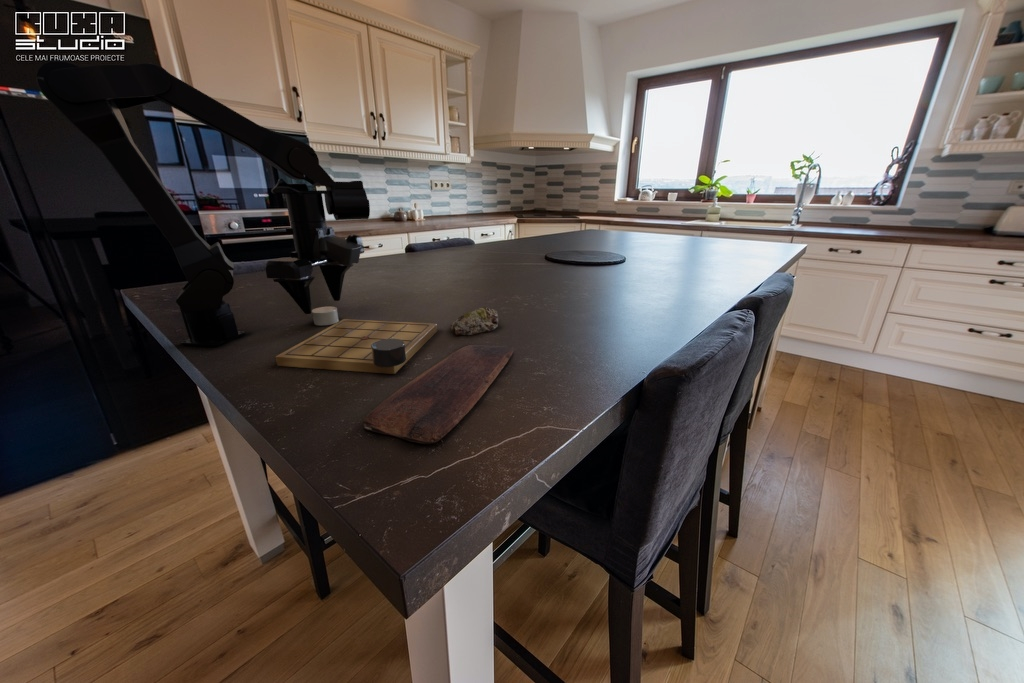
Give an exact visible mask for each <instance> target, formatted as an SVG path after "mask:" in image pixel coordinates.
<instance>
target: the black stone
mask: <svg viewBox="0 0 1024 683" xmlns="http://www.w3.org/2000/svg"><path fill="white" fill-rule="evenodd" d="M371 350H372V357H373V363H374V364H375V365H376V366H379V367H392V366H397V365H400V364H402V363H404V362H405V360H406V353H405V343H404V341H402V340H400V339H383V340H379V341H376V342H374V343H373V344H372V345H371Z"/></svg>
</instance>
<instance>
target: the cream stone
mask: <svg viewBox="0 0 1024 683" xmlns="http://www.w3.org/2000/svg"><path fill="white" fill-rule="evenodd" d="M311 315H312V316H311V317H312V321H313V325H315V326H332V325H334V324H336V323H338V322H339V321H340V320H339V313H338V308H337V307H335V306H320V307H316V308H313V309H311Z"/></svg>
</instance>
